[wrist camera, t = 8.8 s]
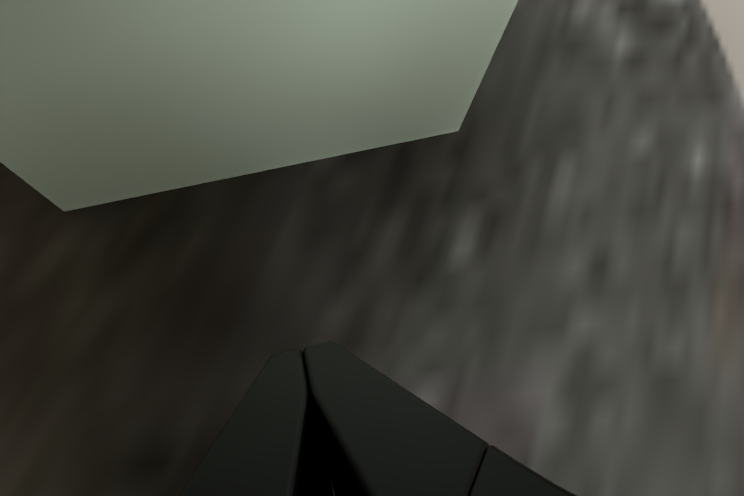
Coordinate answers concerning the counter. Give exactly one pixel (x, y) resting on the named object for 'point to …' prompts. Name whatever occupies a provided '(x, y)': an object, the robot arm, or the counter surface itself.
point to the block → (226, 86)
